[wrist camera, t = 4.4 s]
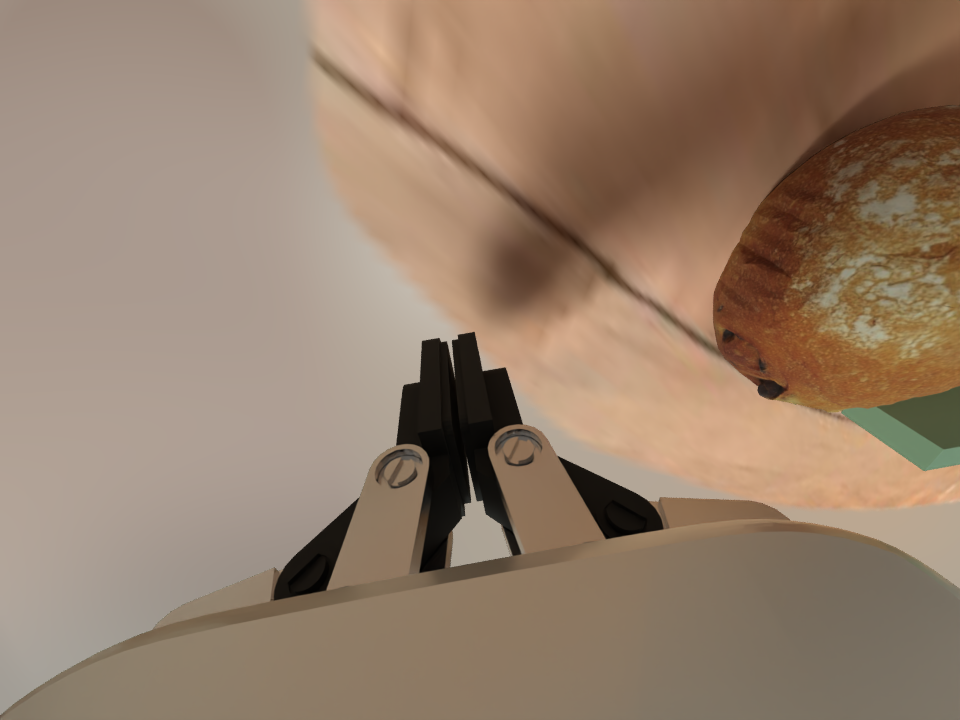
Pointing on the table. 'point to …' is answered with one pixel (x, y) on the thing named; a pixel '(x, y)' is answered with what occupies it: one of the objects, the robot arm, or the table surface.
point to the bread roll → (853, 271)
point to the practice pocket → (917, 428)
